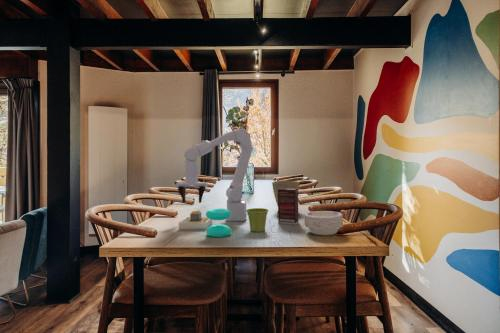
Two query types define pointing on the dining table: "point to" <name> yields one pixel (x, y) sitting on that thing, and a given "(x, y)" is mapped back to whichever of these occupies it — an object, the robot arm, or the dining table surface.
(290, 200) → the supplement box
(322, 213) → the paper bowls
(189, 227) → the walled box
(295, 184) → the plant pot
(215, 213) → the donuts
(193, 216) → the connector
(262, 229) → the plant pot
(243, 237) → the dining table surface
